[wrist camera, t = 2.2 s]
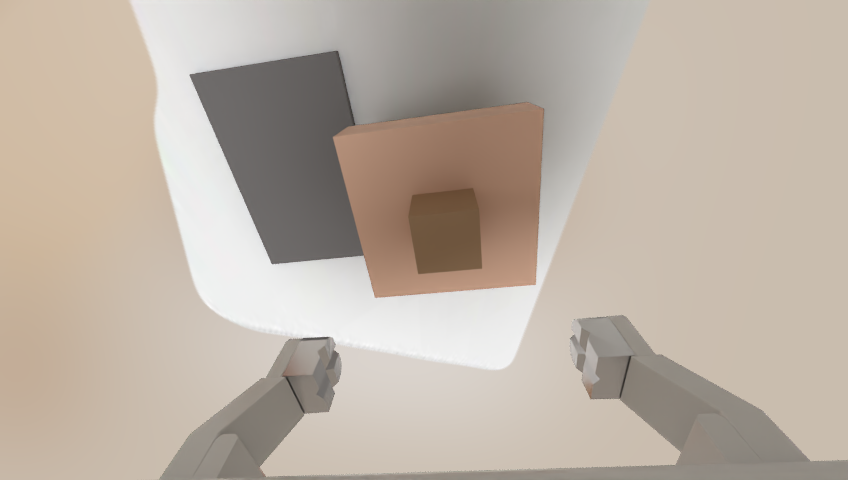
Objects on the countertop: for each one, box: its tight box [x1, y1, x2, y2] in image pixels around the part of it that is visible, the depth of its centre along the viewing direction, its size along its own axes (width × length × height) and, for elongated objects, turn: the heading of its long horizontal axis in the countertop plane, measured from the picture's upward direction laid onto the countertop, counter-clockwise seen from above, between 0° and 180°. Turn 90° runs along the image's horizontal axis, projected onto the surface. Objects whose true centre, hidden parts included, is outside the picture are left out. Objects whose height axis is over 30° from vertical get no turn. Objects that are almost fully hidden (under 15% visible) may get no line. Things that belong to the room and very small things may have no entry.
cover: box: [333, 102, 544, 298], centre depth 19 cm, size 11×11×6 cm
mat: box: [190, 51, 364, 264], centre depth 29 cm, size 18×12×1 cm, turn 8°
